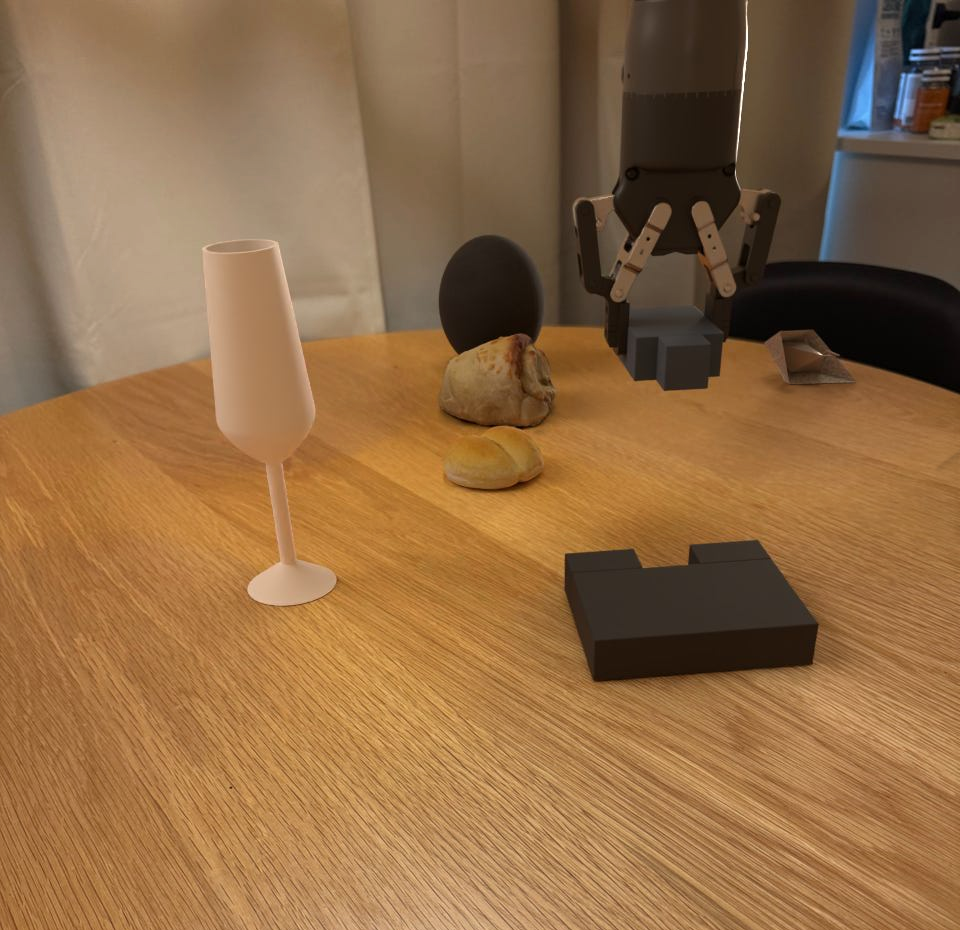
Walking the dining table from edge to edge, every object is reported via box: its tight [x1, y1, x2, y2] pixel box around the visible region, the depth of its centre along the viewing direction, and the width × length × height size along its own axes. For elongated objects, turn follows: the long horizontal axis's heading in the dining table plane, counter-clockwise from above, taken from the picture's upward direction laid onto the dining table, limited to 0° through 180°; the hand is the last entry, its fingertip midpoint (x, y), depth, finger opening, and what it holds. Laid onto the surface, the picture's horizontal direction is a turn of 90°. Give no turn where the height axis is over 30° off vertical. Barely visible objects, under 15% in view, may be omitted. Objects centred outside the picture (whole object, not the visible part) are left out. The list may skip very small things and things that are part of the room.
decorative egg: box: [438, 234, 546, 356], centre depth 117 cm, size 12×12×15 cm
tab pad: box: [617, 305, 724, 392], centre depth 71 cm, size 6×10×3 cm, turn 4°
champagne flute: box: [201, 238, 338, 607], centre depth 69 cm, size 7×7×24 cm
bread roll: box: [442, 425, 545, 490], centre depth 91 cm, size 8×9×4 cm
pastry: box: [438, 334, 558, 428], centre depth 106 cm, size 14×12×8 cm
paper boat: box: [763, 329, 857, 385], centre depth 110 cm, size 12×6×9 cm
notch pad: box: [564, 539, 820, 682], centre depth 67 cm, size 14×12×3 cm
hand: (665, 349), depth 72 cm, fingers closed on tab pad, 6 cm apart
